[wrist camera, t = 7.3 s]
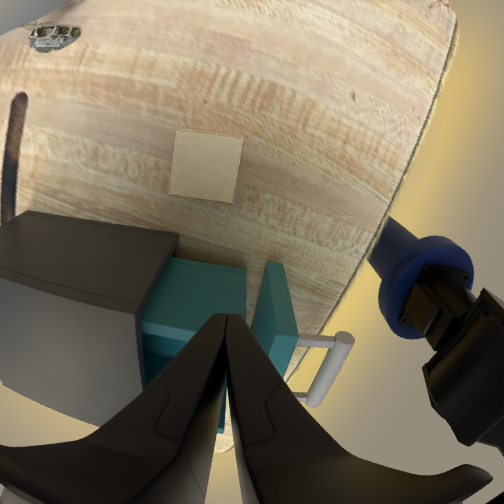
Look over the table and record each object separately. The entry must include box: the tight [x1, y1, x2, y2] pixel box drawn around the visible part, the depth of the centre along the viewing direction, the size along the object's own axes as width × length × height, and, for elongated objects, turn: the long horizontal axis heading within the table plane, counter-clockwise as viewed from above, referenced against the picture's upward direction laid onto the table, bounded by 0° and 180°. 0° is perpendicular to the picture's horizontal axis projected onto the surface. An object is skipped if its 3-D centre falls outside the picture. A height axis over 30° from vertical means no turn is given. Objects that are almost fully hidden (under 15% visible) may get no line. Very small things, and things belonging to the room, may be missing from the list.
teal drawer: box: [141, 257, 355, 434], centre depth 19 cm, size 18×11×8 cm, turn 80°
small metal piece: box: [20, 21, 80, 53], centre depth 12 cm, size 6×2×3 cm, turn 67°
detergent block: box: [169, 129, 245, 204], centre depth 17 cm, size 4×4×4 cm
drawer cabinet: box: [0, 211, 179, 427], centre depth 18 cm, size 15×13×10 cm
